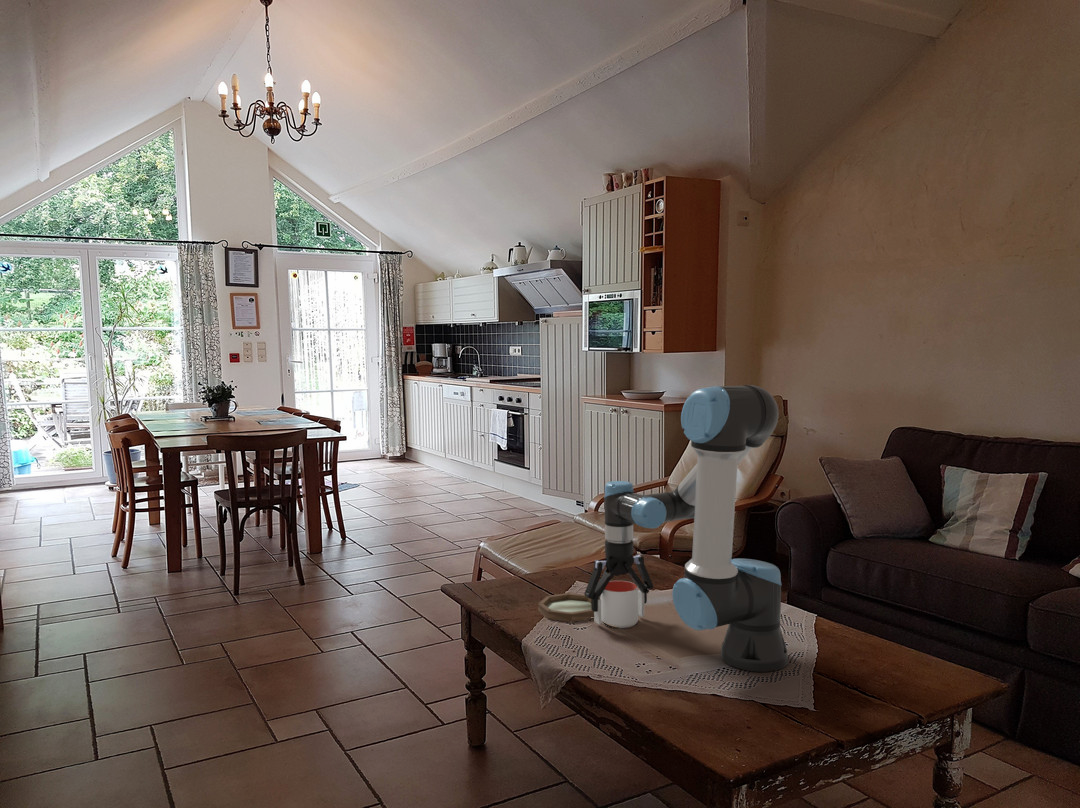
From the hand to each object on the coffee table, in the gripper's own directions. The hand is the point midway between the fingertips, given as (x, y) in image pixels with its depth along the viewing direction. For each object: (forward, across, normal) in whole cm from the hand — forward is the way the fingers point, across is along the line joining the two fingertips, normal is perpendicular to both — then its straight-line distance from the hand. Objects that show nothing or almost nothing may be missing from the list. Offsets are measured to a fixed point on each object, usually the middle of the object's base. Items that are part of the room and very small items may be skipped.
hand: (619, 619), depth 204 cm
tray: (+1, +8, -14) cm, 16 cm away
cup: (+1, 0, 0) cm, 1 cm away
